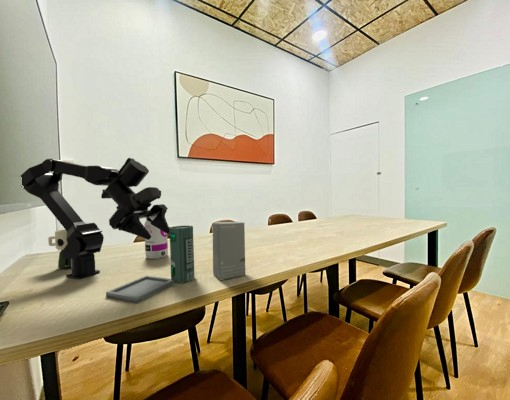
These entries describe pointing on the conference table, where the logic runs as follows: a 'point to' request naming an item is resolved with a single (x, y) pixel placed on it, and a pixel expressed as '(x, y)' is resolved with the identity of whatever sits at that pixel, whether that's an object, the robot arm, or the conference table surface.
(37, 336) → the conference table surface
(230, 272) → the skincare box
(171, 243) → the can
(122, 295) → the tray
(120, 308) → the conference table surface
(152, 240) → the supplement can
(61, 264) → the character mug
